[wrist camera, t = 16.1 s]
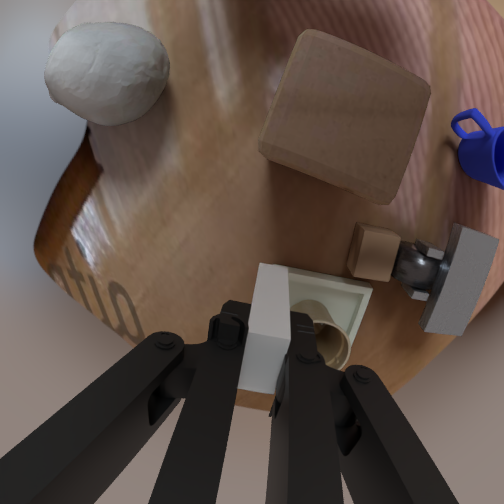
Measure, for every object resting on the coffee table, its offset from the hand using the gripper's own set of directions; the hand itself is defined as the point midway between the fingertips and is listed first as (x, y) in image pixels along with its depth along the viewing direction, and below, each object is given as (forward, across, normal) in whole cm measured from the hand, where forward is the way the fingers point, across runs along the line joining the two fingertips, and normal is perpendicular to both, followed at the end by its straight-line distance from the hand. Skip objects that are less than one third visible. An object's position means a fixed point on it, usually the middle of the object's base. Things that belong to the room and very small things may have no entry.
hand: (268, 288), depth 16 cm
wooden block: (+24, +3, +10) cm, 27 cm away
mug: (+25, +25, +15) cm, 38 cm away
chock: (+24, +14, -3) cm, 28 cm away
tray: (+24, +8, -15) cm, 29 cm away
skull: (+24, -24, +15) cm, 38 cm away
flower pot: (+23, +8, -14) cm, 29 cm away
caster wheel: (+24, +22, -3) cm, 32 cm away
